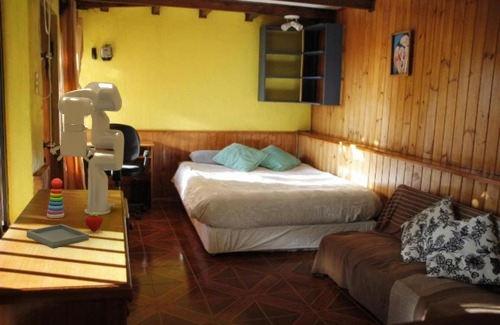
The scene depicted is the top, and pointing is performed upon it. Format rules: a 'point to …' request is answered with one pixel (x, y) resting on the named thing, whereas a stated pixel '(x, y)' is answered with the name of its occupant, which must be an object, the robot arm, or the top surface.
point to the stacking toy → (56, 200)
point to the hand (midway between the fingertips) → (73, 170)
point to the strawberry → (93, 221)
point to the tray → (57, 235)
